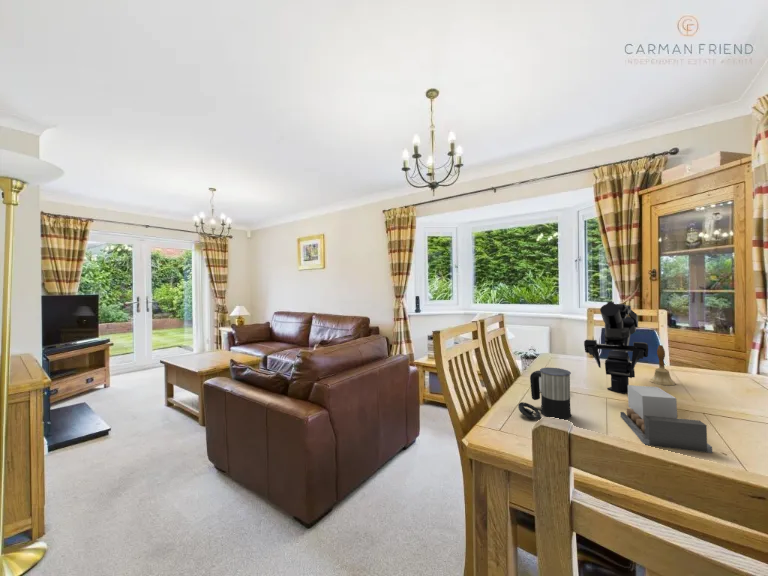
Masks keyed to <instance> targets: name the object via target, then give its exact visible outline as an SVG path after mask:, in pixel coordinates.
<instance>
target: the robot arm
mask: <svg viewBox="0 0 768 576" xmlns="http://www.w3.org/2000/svg"><path fill="white" fill-rule="evenodd" d="M599 310H600V314H601V317H602V321H603V322H604V343H597V342H598V341H597V339H585V340H584V341H583V345H584V352H585V353H586V354H589V356H592V357H593V359H594V360H595V361H596V364H597V366H598V368H600V369H601V368H602V367H601V366H602V365H601V359H600V353H599V350H604V351H605V350H607V351H608V350H609V351H608V354H607V359H605V360H604V369H605V375H610V386H609V387H607V388H606V389H607V390H608V391H613V392H616V393H621V394H624V395H625V394H628V385H630V384H629V382H630V381H629V379H632V378H636V376H635V375H636V374H635V373H636V372H635V367H636V365H637V363H638V362H639V360H641V359H642V360H643V359H644V358H648V356H649V345H648V343H647V342H643V341H633V344H632V345H630V339H631V335H632V334H635V333H636V331H637V328H639V318H638V314H637V313H636V312H634V311H633V309H632V307H631V305H628V304H625V303H615V301H607V303H606V304H603V305H602V306H601V307H600V309H599ZM629 352H632V355H631V359H630V355H629Z"/></svg>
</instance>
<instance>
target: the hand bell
mask: <svg viewBox="0 0 768 576" xmlns="http://www.w3.org/2000/svg"><path fill="white" fill-rule="evenodd" d="M656 355H657V358H658V366H659V367H658V368H656V369H654V375H653V377H652V378H650V379H649V382H651V383H652V384H655V385H660V386H675V385H676V384H677V383H676V382H675V381H674V380H673V379H672V377H671V375H670V371H669V370H668V369H666V368H665V357H666V351H665V349H664V346H663V345H661V344H658V347H657V349H656Z"/></svg>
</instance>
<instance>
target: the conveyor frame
mask: <svg viewBox="0 0 768 576" xmlns="http://www.w3.org/2000/svg"><path fill="white" fill-rule="evenodd" d="M620 418H621V419H622V420H623V422H624V423H625V424H626V425H627V426H628V427H629V429H630V430H631V431H632V432H633V433H634V434H635V436H637V438H638V439H639V440H640V441H641V443H642V444H643V445H644V444H645V445H644V446H649V447H657V448H665V449H675V450H683V451H691V452H701V453H707V454H713V446H711V444H709V443H708V436H707V435H708V433H707V429H708V428H707V424H705V422H703V421H701V419H700V420H699V419H697V420H696V419H689V418H688V419H687V418H678V417H677V418H667V417H656V416H646V415H644V430H645V435H644V434H643V432H642V430H640V429H639V428H638V427H637V425H636V424H634V423H633V422H632V419H630V418H629V417H628V416H627V413H626V412H624V411H620Z"/></svg>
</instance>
